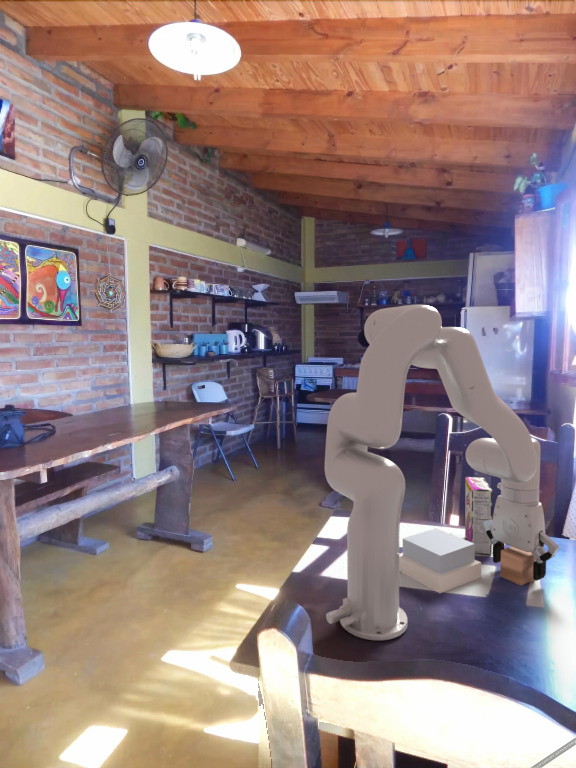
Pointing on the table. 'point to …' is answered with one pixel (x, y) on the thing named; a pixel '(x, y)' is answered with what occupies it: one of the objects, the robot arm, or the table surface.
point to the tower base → (440, 580)
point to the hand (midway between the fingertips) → (517, 569)
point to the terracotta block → (517, 565)
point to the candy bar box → (478, 513)
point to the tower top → (438, 550)
